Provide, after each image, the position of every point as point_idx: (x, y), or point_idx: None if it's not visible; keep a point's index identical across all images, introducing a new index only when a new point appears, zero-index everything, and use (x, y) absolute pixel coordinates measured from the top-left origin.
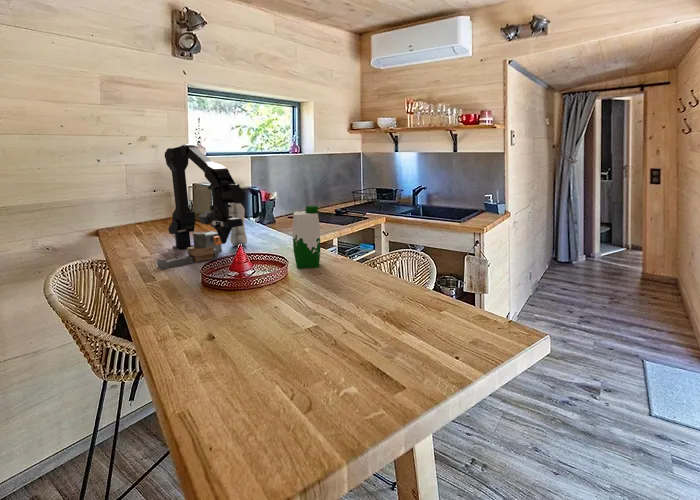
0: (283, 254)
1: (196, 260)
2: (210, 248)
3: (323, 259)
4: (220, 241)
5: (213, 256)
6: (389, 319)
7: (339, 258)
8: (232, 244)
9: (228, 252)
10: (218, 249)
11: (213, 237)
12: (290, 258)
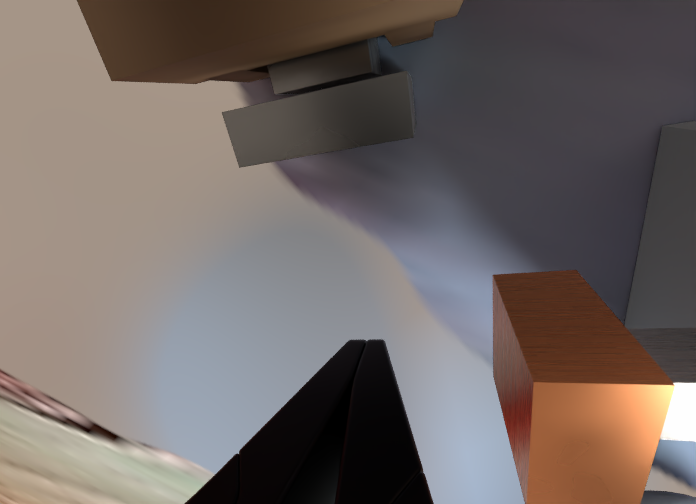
0: (154, 467)
1: None
2: (102, 3)
3: (5, 474)
4: (503, 380)
5: (237, 79)
6: None
7: (9, 500)
8: (687, 500)
9: (460, 336)
10: (638, 320)
11: (661, 376)
12: (56, 434)
